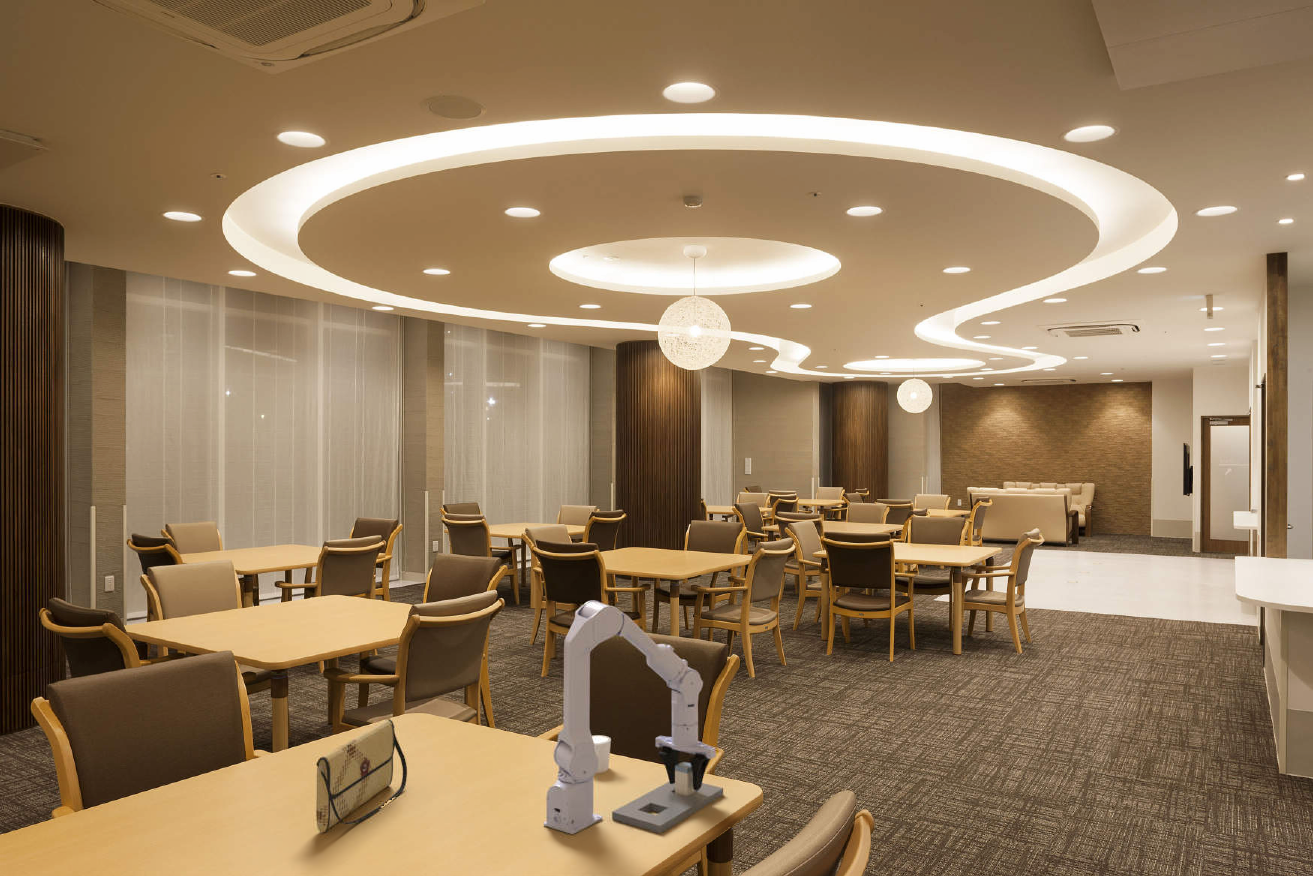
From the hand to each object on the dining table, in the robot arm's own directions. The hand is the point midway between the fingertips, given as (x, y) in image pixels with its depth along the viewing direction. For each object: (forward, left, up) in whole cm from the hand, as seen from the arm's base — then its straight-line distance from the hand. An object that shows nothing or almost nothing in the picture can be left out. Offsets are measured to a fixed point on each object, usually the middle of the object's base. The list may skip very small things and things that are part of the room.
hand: (685, 785), depth 182 cm
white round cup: (+3, +28, -3) cm, 28 cm away
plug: (0, 0, -3) cm, 3 cm away
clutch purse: (-43, +53, -3) cm, 68 cm away
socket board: (-6, 0, -3) cm, 7 cm away
